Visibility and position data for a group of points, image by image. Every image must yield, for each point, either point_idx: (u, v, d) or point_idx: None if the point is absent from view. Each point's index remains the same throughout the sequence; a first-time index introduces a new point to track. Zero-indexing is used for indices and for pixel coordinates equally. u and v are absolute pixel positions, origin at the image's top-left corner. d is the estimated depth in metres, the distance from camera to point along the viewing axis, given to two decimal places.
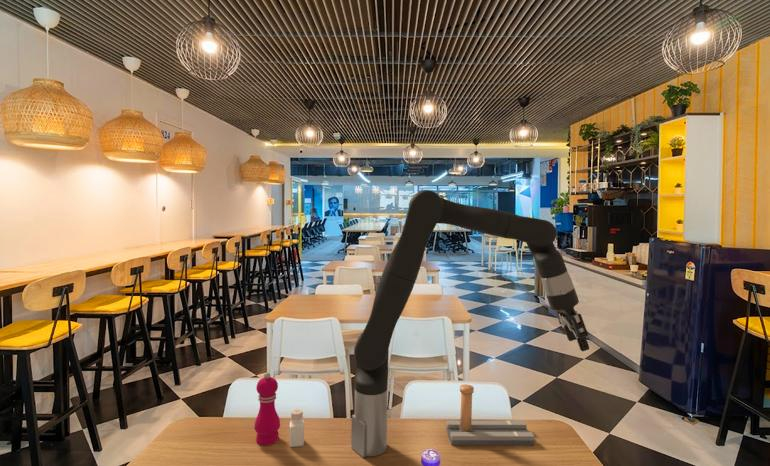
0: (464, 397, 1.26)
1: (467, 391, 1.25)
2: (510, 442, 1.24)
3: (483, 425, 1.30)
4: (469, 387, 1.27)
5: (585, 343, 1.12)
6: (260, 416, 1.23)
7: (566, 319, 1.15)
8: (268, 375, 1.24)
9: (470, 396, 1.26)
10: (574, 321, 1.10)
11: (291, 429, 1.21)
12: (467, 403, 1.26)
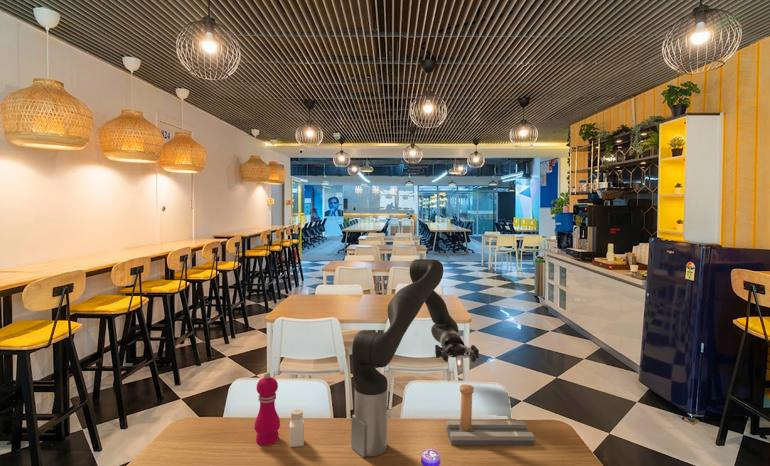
0: (464, 397, 1.26)
1: (467, 391, 1.25)
2: (510, 442, 1.24)
3: (483, 425, 1.30)
4: (469, 387, 1.27)
5: None
6: (260, 416, 1.23)
7: None
8: (268, 375, 1.24)
9: (470, 396, 1.26)
10: None
11: (291, 429, 1.21)
12: (467, 403, 1.26)
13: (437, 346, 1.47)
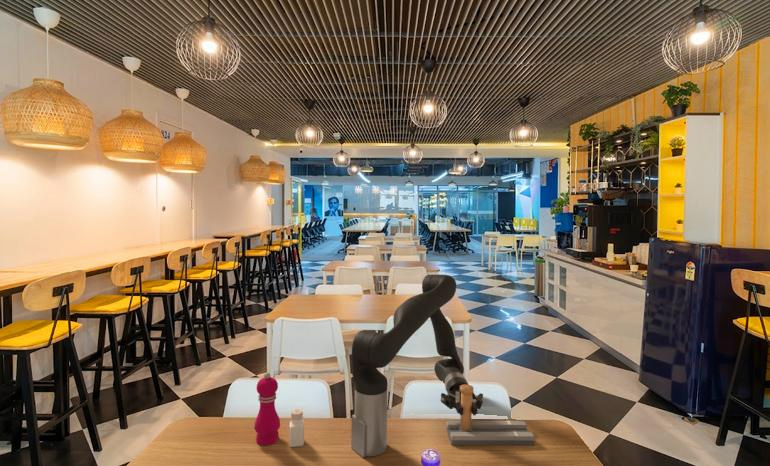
0: (464, 397, 1.26)
1: (467, 391, 1.25)
2: (510, 442, 1.24)
3: (483, 425, 1.30)
4: (469, 387, 1.27)
5: None
6: (260, 416, 1.23)
7: None
8: (268, 375, 1.24)
9: (470, 396, 1.26)
10: (482, 396, 1.33)
11: (291, 429, 1.21)
12: (467, 403, 1.26)
13: (445, 395, 1.33)
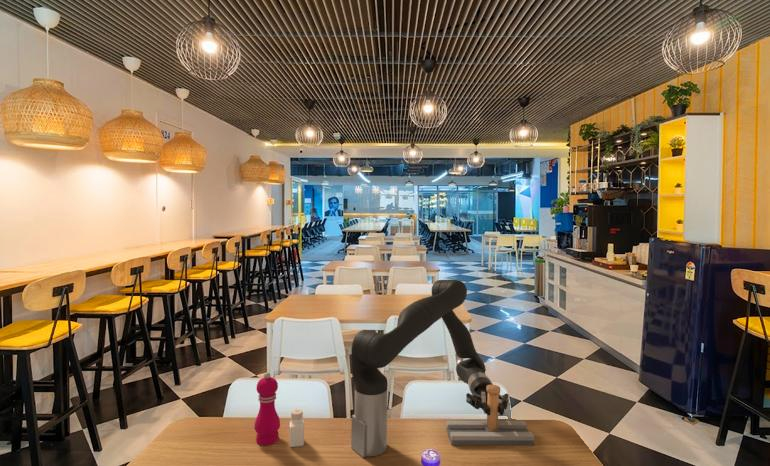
0: (491, 398, 1.26)
1: (494, 391, 1.26)
2: (510, 442, 1.24)
3: (483, 425, 1.30)
4: (496, 387, 1.27)
5: None
6: (260, 416, 1.23)
7: None
8: (268, 375, 1.24)
9: (497, 396, 1.26)
10: None
11: (291, 429, 1.21)
12: (494, 403, 1.26)
13: (470, 395, 1.33)
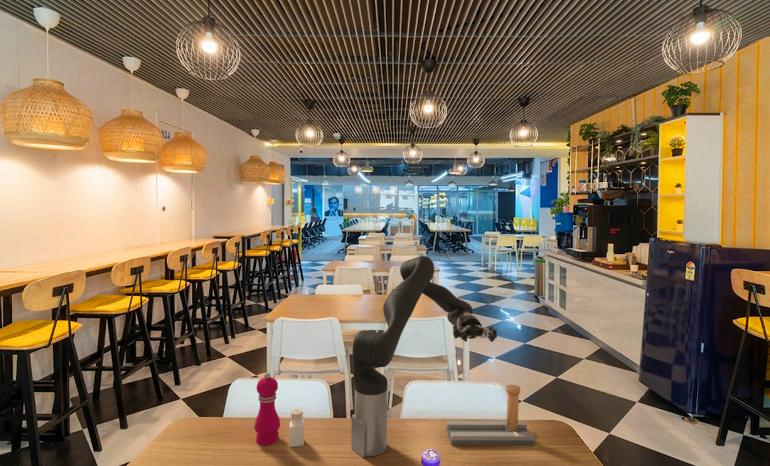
0: (511, 398, 1.27)
1: (514, 391, 1.26)
2: (510, 442, 1.24)
3: (483, 425, 1.30)
4: (516, 387, 1.28)
5: None
6: (260, 416, 1.23)
7: None
8: (268, 375, 1.24)
9: (517, 396, 1.27)
10: None
11: (291, 429, 1.21)
12: (514, 404, 1.26)
13: (455, 327, 1.48)
